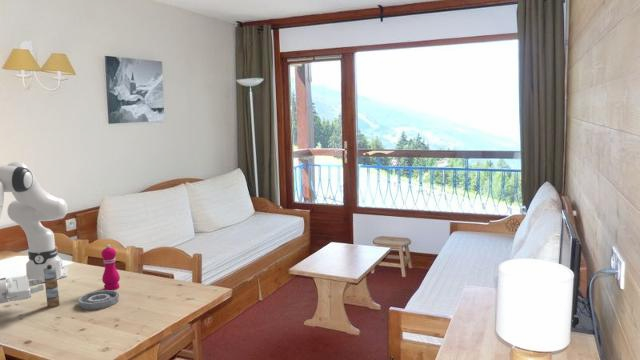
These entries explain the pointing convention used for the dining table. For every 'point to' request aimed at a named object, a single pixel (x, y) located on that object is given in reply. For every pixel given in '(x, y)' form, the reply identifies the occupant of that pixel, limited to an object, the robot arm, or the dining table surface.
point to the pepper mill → (110, 269)
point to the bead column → (51, 286)
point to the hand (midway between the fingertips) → (42, 284)
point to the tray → (98, 300)
